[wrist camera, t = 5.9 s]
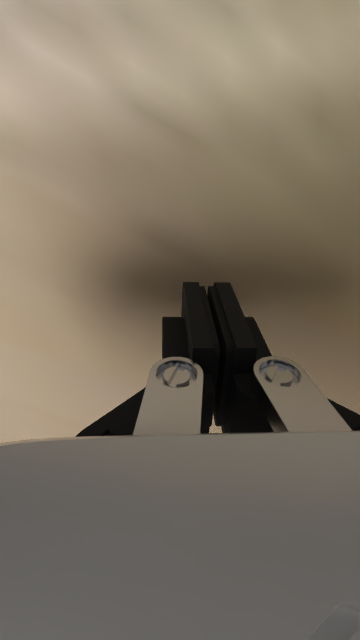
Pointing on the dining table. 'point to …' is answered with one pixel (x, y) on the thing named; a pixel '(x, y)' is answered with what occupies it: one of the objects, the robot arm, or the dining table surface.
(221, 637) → the robot arm
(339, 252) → the dining table surface
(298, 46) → the dining table surface
